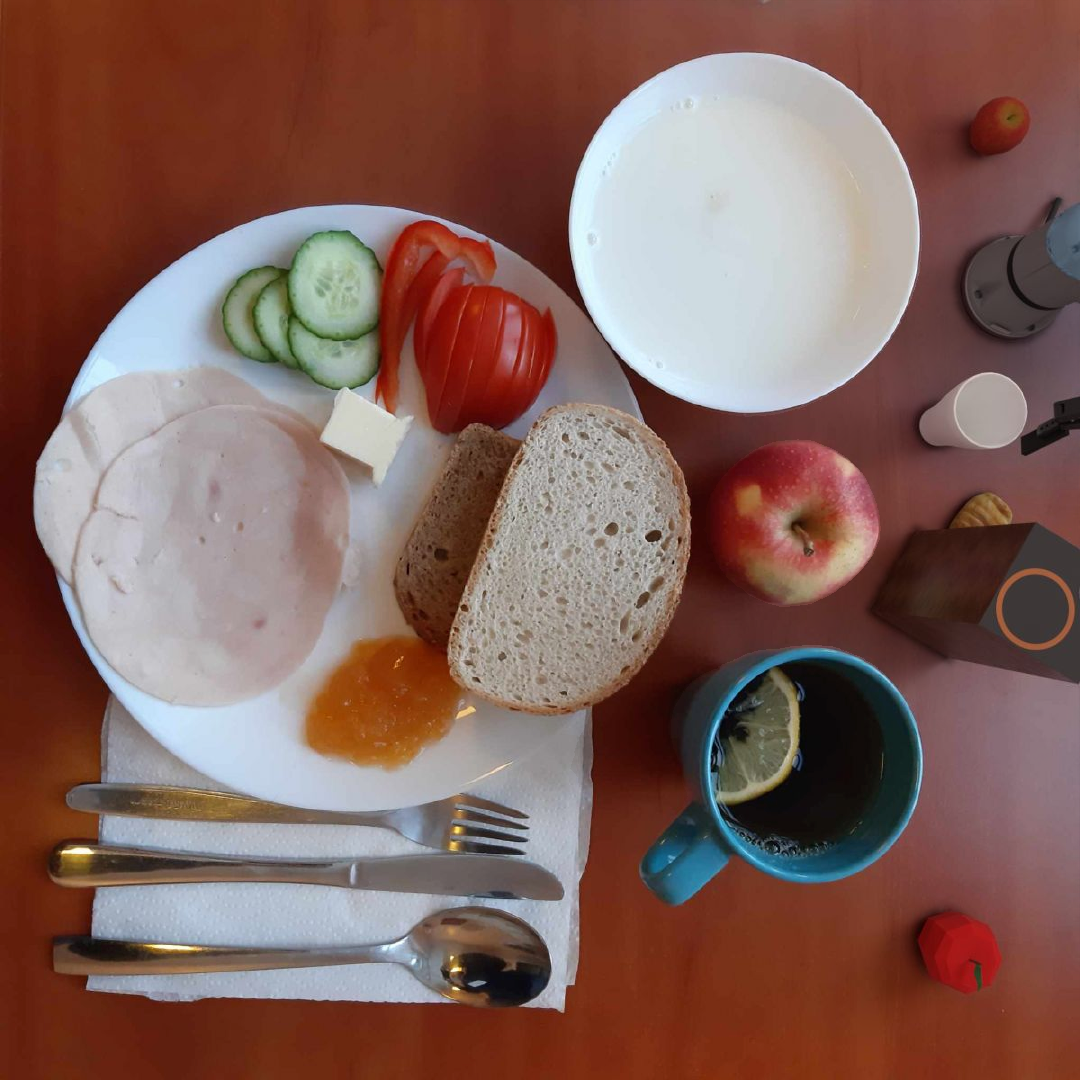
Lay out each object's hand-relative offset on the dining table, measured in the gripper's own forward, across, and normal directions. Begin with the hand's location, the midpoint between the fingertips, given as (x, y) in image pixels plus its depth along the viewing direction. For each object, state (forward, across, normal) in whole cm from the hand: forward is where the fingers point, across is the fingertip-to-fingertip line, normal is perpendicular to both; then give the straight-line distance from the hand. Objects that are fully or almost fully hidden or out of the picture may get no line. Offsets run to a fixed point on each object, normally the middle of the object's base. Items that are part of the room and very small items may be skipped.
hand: (1062, 464), depth 114 cm
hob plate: (-3, -6, -23) cm, 24 cm away
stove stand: (+22, 0, -12) cm, 26 cm away
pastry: (+17, +3, -1) cm, 18 cm away
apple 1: (+38, +16, -58) cm, 71 cm away
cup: (+15, -7, +11) cm, 20 cm away
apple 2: (-1, -14, +52) cm, 54 cm away
